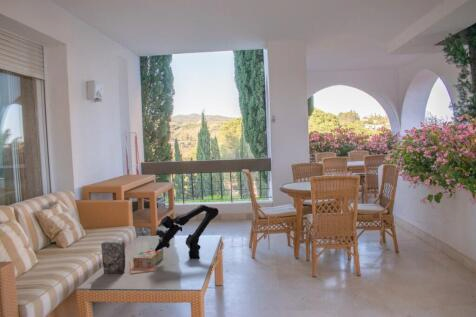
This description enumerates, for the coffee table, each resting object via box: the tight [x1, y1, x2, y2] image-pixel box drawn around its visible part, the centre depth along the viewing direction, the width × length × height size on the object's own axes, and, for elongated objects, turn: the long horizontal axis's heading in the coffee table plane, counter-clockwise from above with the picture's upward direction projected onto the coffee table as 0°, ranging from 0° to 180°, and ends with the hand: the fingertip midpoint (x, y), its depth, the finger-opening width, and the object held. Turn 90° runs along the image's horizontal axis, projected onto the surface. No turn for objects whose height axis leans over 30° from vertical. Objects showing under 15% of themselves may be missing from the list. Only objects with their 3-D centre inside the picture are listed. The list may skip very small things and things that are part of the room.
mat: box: [129, 259, 158, 275], centre depth 245 cm, size 16×26×1 cm, turn 17°
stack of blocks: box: [132, 247, 164, 268], centre depth 251 cm, size 21×6×12 cm
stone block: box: [101, 239, 126, 275], centre depth 234 cm, size 13×7×20 cm, turn 87°
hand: (155, 250), depth 247 cm, fingers closed
